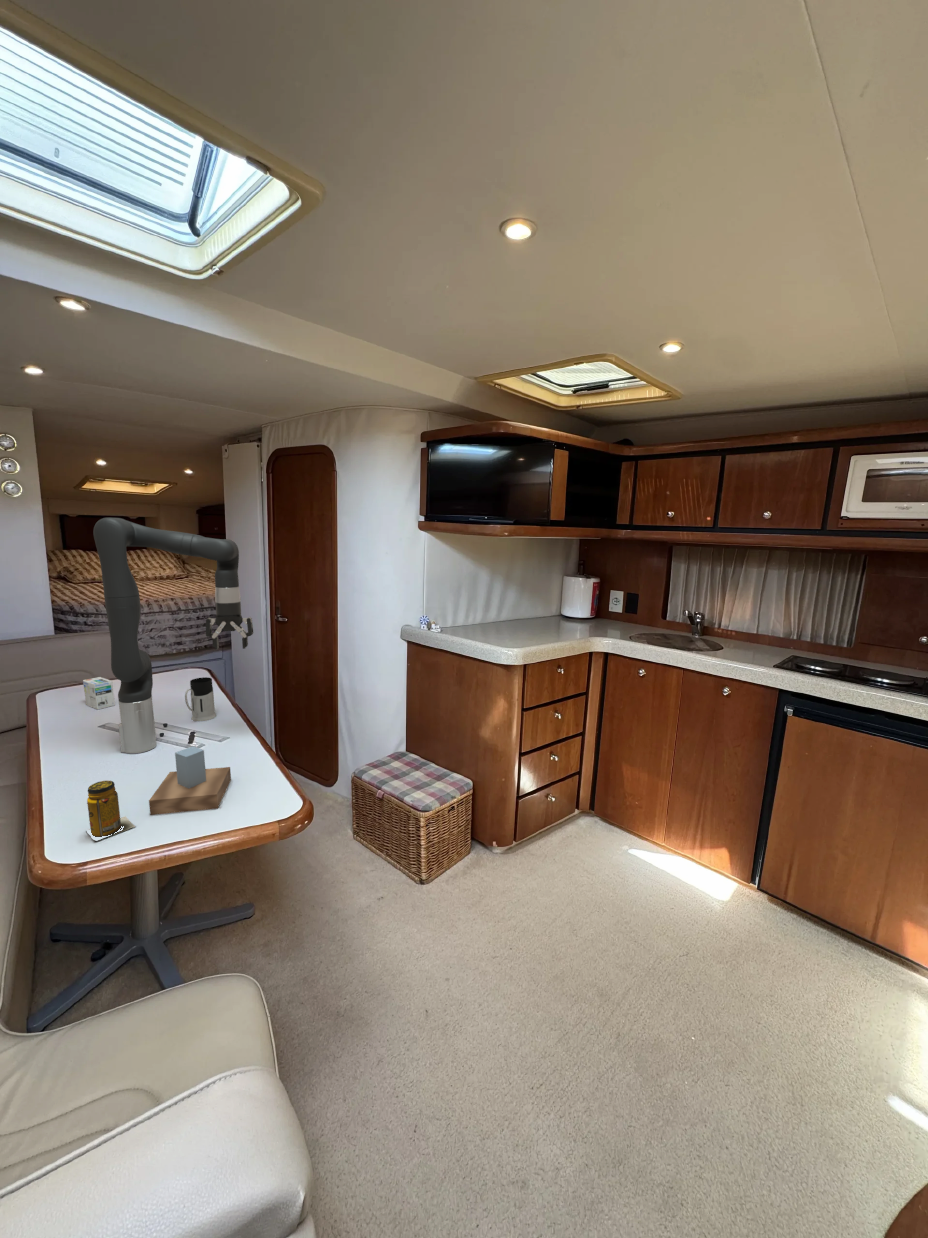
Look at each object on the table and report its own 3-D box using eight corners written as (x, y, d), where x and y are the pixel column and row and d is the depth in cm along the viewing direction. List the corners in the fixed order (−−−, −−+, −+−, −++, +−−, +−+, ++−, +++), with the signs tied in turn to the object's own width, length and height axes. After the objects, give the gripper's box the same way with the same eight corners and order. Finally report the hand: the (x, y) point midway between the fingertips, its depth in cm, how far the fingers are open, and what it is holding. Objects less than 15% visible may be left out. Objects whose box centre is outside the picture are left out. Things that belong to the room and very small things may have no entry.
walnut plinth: (150, 815, 131) (148, 800, 130) (171, 785, 146) (169, 771, 146) (217, 808, 134) (216, 794, 134) (231, 779, 150) (230, 767, 149)
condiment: (85, 831, 124) (79, 785, 122) (125, 816, 130) (120, 773, 128) (94, 843, 119) (89, 795, 117) (135, 827, 126) (131, 782, 123)
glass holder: (221, 713, 202) (218, 677, 200) (199, 727, 189) (196, 688, 186) (200, 712, 203) (197, 676, 201) (176, 726, 189) (173, 687, 187)
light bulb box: (115, 705, 210) (112, 680, 209) (97, 710, 205) (94, 684, 203) (103, 700, 216) (100, 676, 214) (85, 705, 210) (82, 679, 209)
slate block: (188, 788, 136) (186, 757, 135) (177, 783, 139) (174, 752, 137) (206, 780, 141) (203, 750, 139) (195, 776, 143) (192, 746, 142)
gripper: (201, 602, 163) (204, 651, 166) (248, 601, 166) (251, 650, 169) (207, 599, 170) (210, 646, 173) (253, 598, 174) (255, 645, 176)
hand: (230, 648), depth 171 cm, fingers open, 8 cm apart
